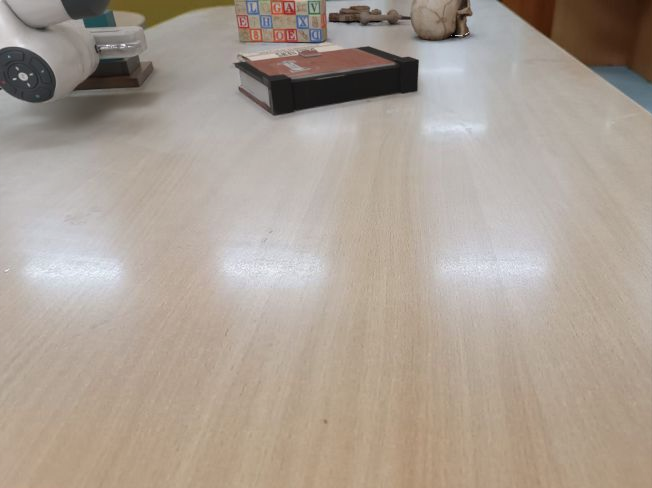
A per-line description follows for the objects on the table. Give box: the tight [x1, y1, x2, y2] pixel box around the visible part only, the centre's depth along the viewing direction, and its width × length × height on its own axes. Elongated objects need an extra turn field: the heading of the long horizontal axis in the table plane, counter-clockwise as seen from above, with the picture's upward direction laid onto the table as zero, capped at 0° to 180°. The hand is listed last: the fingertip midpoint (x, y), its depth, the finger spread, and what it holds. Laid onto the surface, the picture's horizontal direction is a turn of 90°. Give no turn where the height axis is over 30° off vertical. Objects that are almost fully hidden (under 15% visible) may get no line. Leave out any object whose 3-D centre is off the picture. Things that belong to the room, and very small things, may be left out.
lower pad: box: [72, 55, 154, 91], centre depth 96 cm, size 12×14×4 cm
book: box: [234, 45, 420, 116], centre depth 87 cm, size 26×18×5 cm
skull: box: [409, 0, 474, 41], centre depth 127 cm, size 16×17×13 cm
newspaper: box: [232, 41, 346, 65], centre depth 108 cm, size 23×12×2 cm, turn 126°
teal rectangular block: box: [82, 9, 124, 61], centre depth 93 cm, size 4×5×10 cm
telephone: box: [328, 5, 411, 25], centre depth 149 cm, size 15×33×4 cm, turn 87°
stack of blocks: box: [233, 0, 328, 43], centre depth 125 cm, size 21×6×12 cm, turn 80°
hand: (90, 34), depth 87 cm, fingers open, 8 cm apart
